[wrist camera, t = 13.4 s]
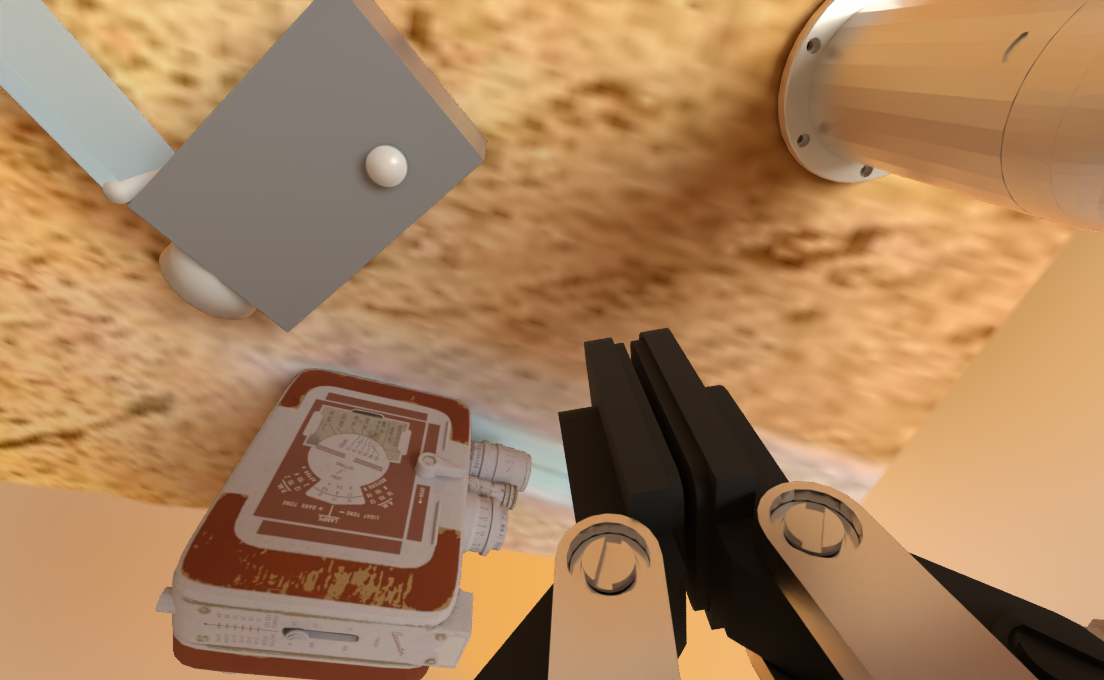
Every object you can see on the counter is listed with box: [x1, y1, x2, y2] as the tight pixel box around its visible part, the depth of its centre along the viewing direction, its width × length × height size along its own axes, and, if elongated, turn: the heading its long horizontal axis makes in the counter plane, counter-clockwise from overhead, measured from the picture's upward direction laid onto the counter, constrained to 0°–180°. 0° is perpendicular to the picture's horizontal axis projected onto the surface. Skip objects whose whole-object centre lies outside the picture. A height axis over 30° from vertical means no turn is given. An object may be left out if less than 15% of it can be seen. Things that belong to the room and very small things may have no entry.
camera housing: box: [127, 0, 487, 332], centre depth 30 cm, size 20×10×8 cm, turn 128°
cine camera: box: [156, 369, 531, 680], centre depth 35 cm, size 9×19×20 cm, turn 70°
